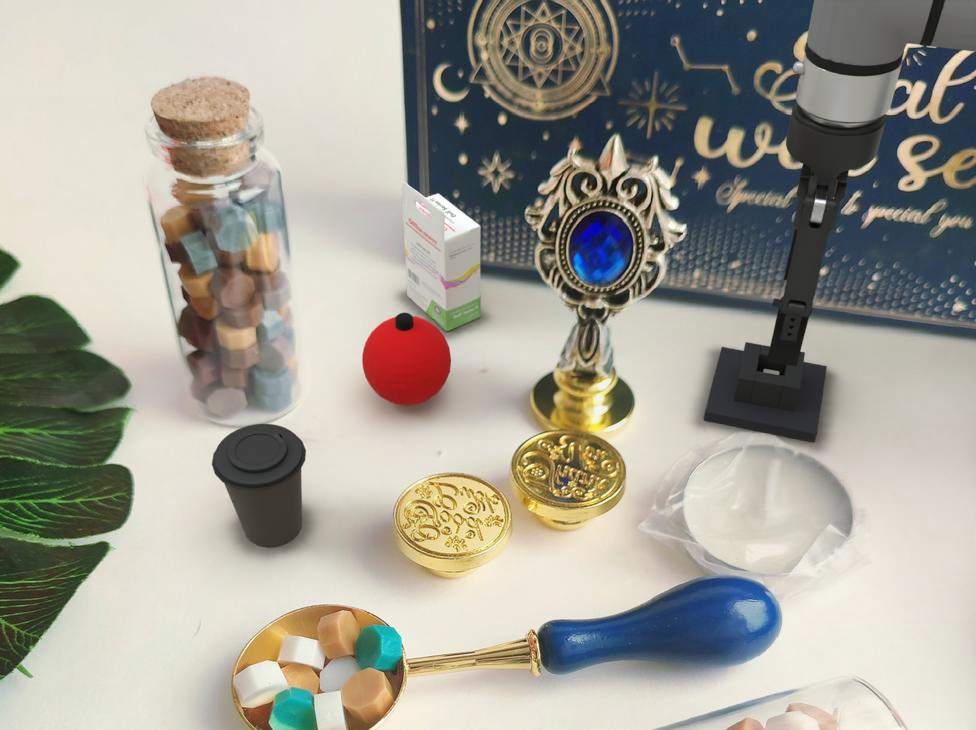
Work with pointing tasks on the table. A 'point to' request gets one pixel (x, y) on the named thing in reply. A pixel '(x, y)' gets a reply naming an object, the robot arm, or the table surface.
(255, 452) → the coffee cup
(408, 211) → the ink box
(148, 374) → the table surface
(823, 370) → the base pad
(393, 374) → the ornament
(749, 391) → the dark grey square block
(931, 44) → the robot arm
